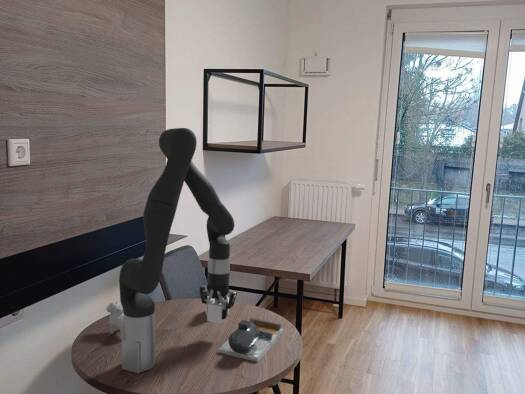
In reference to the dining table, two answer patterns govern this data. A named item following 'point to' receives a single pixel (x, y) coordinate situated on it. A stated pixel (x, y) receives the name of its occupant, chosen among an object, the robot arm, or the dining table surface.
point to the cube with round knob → (215, 312)
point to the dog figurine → (116, 318)
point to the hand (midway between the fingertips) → (217, 317)
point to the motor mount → (252, 339)
